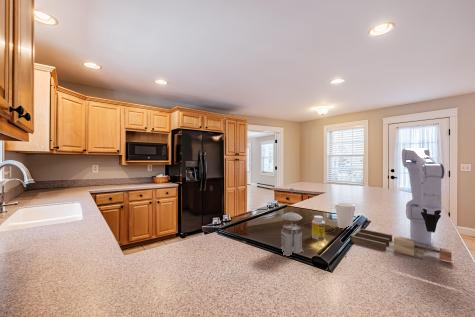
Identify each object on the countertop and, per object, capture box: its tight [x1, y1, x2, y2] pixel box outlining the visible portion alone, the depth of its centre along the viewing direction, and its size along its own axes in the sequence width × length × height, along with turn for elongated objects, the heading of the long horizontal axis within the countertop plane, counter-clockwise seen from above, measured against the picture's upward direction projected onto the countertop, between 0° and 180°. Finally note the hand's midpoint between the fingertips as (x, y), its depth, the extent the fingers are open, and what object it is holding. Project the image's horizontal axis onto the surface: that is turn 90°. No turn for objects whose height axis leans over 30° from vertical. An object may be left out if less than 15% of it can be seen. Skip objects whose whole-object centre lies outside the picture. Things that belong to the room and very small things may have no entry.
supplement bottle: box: [311, 215, 326, 241], centre depth 98 cm, size 6×6×10 cm
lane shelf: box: [349, 227, 425, 261], centre depth 90 cm, size 15×24×3 cm, turn 46°
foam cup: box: [334, 202, 356, 229], centre depth 113 cm, size 10×9×13 cm
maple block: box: [393, 235, 453, 262], centre depth 80 cm, size 4×16×5 cm, turn 46°
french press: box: [280, 187, 303, 257], centre depth 83 cm, size 10×12×25 cm
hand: (431, 229), depth 83 cm, fingers open, 7 cm apart
